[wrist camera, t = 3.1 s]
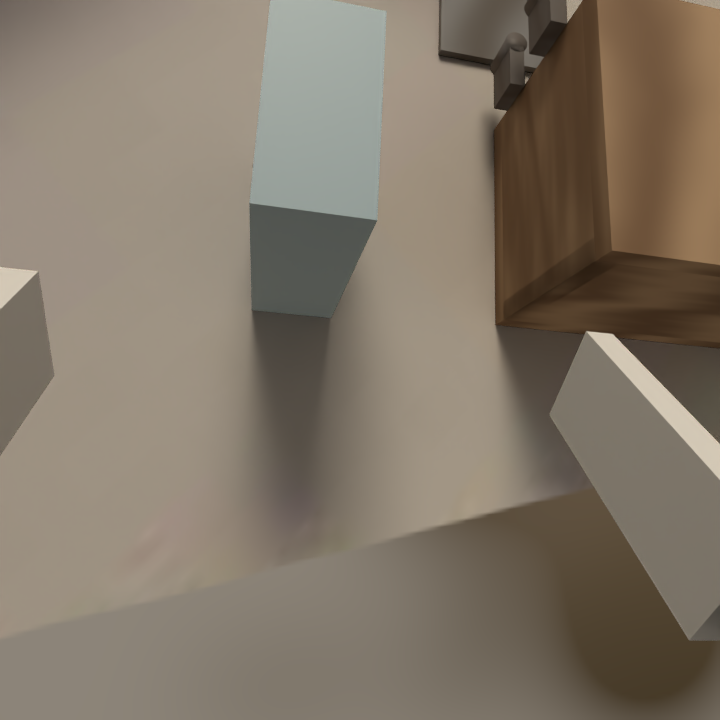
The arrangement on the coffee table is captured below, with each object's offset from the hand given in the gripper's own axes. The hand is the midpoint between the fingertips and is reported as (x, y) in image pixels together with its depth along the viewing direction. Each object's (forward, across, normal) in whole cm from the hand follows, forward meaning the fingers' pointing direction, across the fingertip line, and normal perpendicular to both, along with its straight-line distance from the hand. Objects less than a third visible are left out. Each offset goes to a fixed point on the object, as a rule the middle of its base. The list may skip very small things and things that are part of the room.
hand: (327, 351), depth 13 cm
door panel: (+16, 0, -3) cm, 16 cm away
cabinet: (+23, +17, +4) cm, 29 cm away
